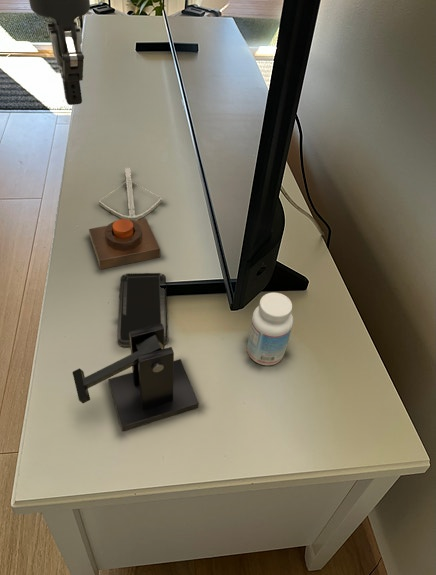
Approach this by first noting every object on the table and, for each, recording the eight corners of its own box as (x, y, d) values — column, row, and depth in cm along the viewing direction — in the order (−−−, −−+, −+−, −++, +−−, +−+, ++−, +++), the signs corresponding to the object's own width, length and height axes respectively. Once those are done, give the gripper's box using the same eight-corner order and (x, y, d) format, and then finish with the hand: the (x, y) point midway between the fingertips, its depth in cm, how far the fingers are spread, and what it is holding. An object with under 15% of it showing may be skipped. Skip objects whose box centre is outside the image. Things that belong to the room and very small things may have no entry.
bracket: (122, 431, 67) (115, 379, 58) (108, 383, 72) (100, 328, 63) (198, 407, 71) (203, 355, 61) (180, 363, 76) (182, 308, 66)
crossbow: (164, 221, 100) (164, 214, 98) (100, 225, 97) (99, 217, 96) (156, 172, 110) (156, 164, 108) (98, 174, 107) (97, 166, 106)
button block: (100, 269, 88) (98, 253, 85) (90, 237, 94) (87, 221, 91) (160, 257, 91) (159, 241, 89) (146, 227, 97) (145, 210, 94)
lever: (85, 405, 63) (76, 398, 61) (78, 377, 66) (69, 369, 64) (169, 363, 63) (163, 354, 61) (159, 336, 66) (152, 327, 64)
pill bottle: (290, 346, 80) (304, 299, 71) (273, 373, 76) (286, 327, 68) (257, 329, 81) (267, 282, 73) (239, 355, 78) (247, 308, 69)
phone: (165, 273, 87) (167, 341, 77) (165, 277, 88) (167, 345, 78) (120, 273, 86) (116, 342, 76) (120, 278, 87) (116, 347, 77)
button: (116, 240, 88) (115, 233, 87) (111, 228, 90) (110, 220, 89) (135, 237, 89) (135, 229, 88) (130, 224, 92) (130, 217, 90)
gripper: (17, -46, 64) (41, 85, 77) (30, -14, 56) (55, 127, 69) (75, -47, 67) (90, 80, 79) (97, -16, 58) (109, 120, 71)
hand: (74, 102), depth 74 cm, fingers closed
